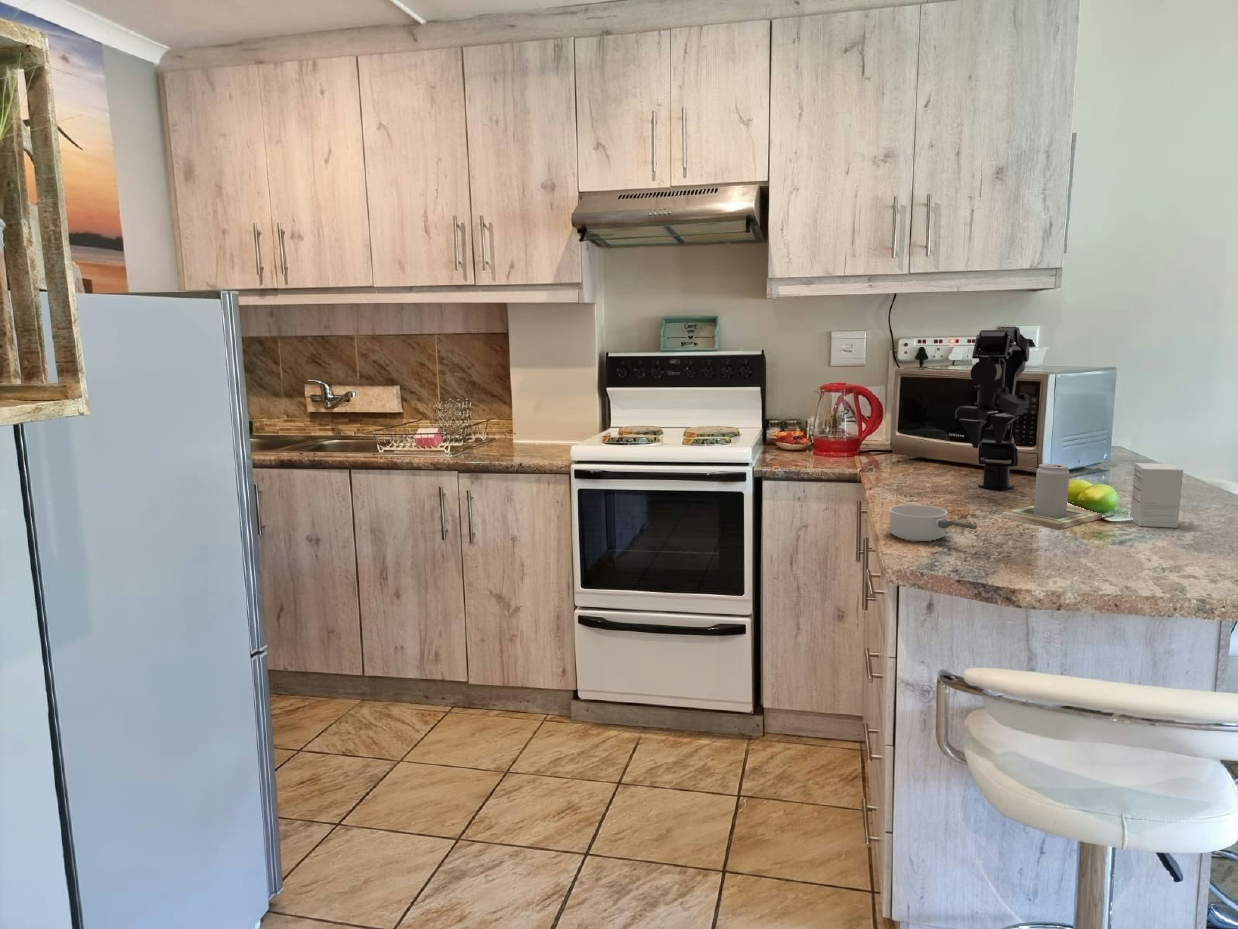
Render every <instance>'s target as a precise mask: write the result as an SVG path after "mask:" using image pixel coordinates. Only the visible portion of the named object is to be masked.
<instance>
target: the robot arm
mask: <svg viewBox="0 0 1238 929" xmlns="http://www.w3.org/2000/svg"><path fill="white" fill-rule="evenodd" d="M973 346H974V347H973V350H972V357H971V358H972V359H973V360H974V359H976V360H978V361H977V362H975V363H974V364H973V365H972V367H971V369H970V374H969V375H970V378H971V379H972V381H973V382H974V383H975V384H977V385H978V386H975V385H974V388H973V390H974V391H977V402H973V406H971V405H964V406H959V407H957V408H956V410H955V419H958V422H960V423H961V425H962V426H963V429H964V431H965V432H966V434H967V436H968V438H969V441H970V443H971V445H972V448H973V449H978V465H984V470H983V481H982V483H980V484H977V486H978V488H984V489H989V490H997V491H1003V490H1004V491H1005V490H1008V489H1009V490H1010V489H1014V488H1015V485H1011V484H1010V473H1011V472H1010V470H1011V467H1012V468H1014V467H1018V466H1019V449H1018V448H1017V445H1016V443H1015V438H1014V436H1013V434H1012V432H1011V430H1010V427H1011V424H1012V423H1013V422H1014V421H1016V420H1018V419H1019V416H1023V414H1024V412H1025V410H1026V409H1028V408H1030V395H1028V394H1027V393H1019V394H1018V395H1016V393H1015V392H1016V386H1017V379H1018V377H1019V376H1020V375H1021V374H1023V373H1024V371H1025V370H1026V363H1027V362H1029V359H1030V345H1029V340H1028V338H1025V336H1024V335H1023V334H1021V331H1020V327H1018V326H1000V327H997V329H982V330H980V331H979V334H977V335H976V337H975V342H974V345H973ZM988 416H990V419H991V424H990V426H989V427H987V428H985V429H984V430H983V426H984V425H985V424H986V423H987V422H988V420H986V419H987V417H988ZM982 430H983V432H982ZM982 433H983V434H982ZM981 435H982V439H981Z"/></svg>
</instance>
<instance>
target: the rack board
mask: <svg viewBox="0 0 1238 929" xmlns="http://www.w3.org/2000/svg"><path fill="white" fill-rule="evenodd" d="M1068 502H1069V501H1067V512H1066V517H1065V518H1061V519H1054V518H1049V517H1044V516H1039V515H1034V505H1028V506H1026V507H1022V508H1020V507H1019V508H1017V509H1011V510H1008V511H1003V512H1001V519H1005V518H1006V519H1007V520H1011V521H1015V520H1016V521H1015V522H1020V523H1023V524H1024V523H1025V524H1029V525H1034V524H1035V526H1039V527H1044V528H1049V527H1050V529H1053V530H1054V529H1055V530H1062V529H1067V528H1071V527H1074V526H1079V525H1082V524H1086V523H1090V522H1094V521H1097V520H1101V517H1102V513H1097V512H1093V511H1090V510H1086V509H1084V508H1081V507H1078V506H1074V505H1072V504H1070V503H1068ZM1006 519H1005V520H1006Z"/></svg>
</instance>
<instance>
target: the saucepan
mask: <svg viewBox="0 0 1238 929" xmlns="http://www.w3.org/2000/svg"><path fill="white" fill-rule="evenodd" d="M888 511H889V512H890V515H889V533H890V534H892V535H894V536H895V537H896V536H897V537H896V538H898V537H899V538H898V539H900V538H902V539H901V540H903V539H905V540H904V541H908V540H910V541H909V542H915V541H930V542H932V541H931V540H935V541H937V540H938V539H941V538H943V537H945V535H946V529H947V528H950V527H959V528H964V529H970V530H976V529H977V528H978V526H977V524H973V523H968V522H963V521H958V520H948V519H946V518H947V515H948V514H949V512H948V510H946V509H944V508H941V507H938V506H931V505H923V504H898V505H893V506H890V507H889V508H888ZM936 539H937V540H936Z"/></svg>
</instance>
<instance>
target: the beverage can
mask: <svg viewBox="0 0 1238 929" xmlns="http://www.w3.org/2000/svg"><path fill="white" fill-rule="evenodd" d="M1035 476H1036V478H1035V491H1034V503H1033V504H1034V505H1033V506H1034V515H1039V516H1044V517H1049V518H1054V519H1061V518H1065V517H1066V512H1067V502H1068V498H1069V484H1070V471H1069V466H1068V465H1065V464H1060V463H1040V464H1038V468H1037V469H1036V475H1035Z"/></svg>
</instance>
